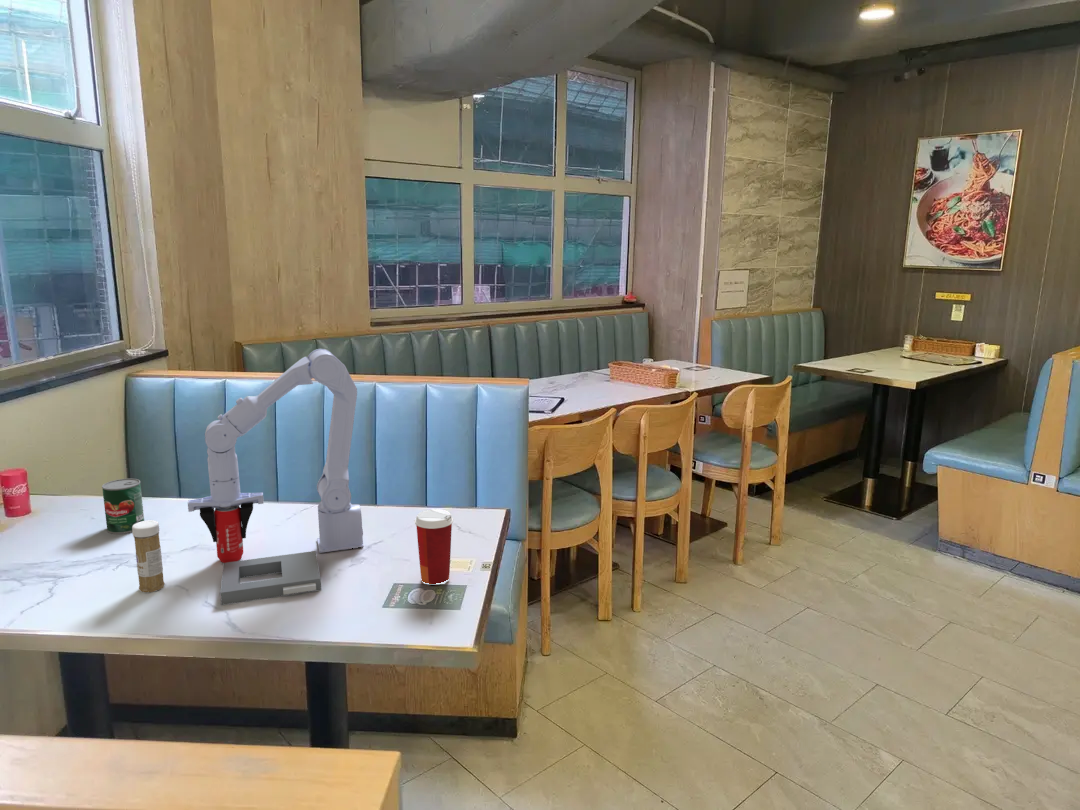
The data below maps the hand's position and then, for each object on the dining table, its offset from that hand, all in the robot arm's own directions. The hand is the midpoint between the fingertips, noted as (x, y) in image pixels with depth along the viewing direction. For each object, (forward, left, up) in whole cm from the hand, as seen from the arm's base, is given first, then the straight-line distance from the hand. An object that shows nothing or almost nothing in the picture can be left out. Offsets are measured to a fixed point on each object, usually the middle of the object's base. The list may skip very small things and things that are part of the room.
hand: (229, 538), depth 154 cm
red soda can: (0, 0, -5) cm, 5 cm away
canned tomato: (+24, -28, -5) cm, 37 cm away
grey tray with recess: (-8, +14, -5) cm, 17 cm away
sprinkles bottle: (+14, +9, -5) cm, 17 cm away
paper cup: (-39, +24, -5) cm, 46 cm away
